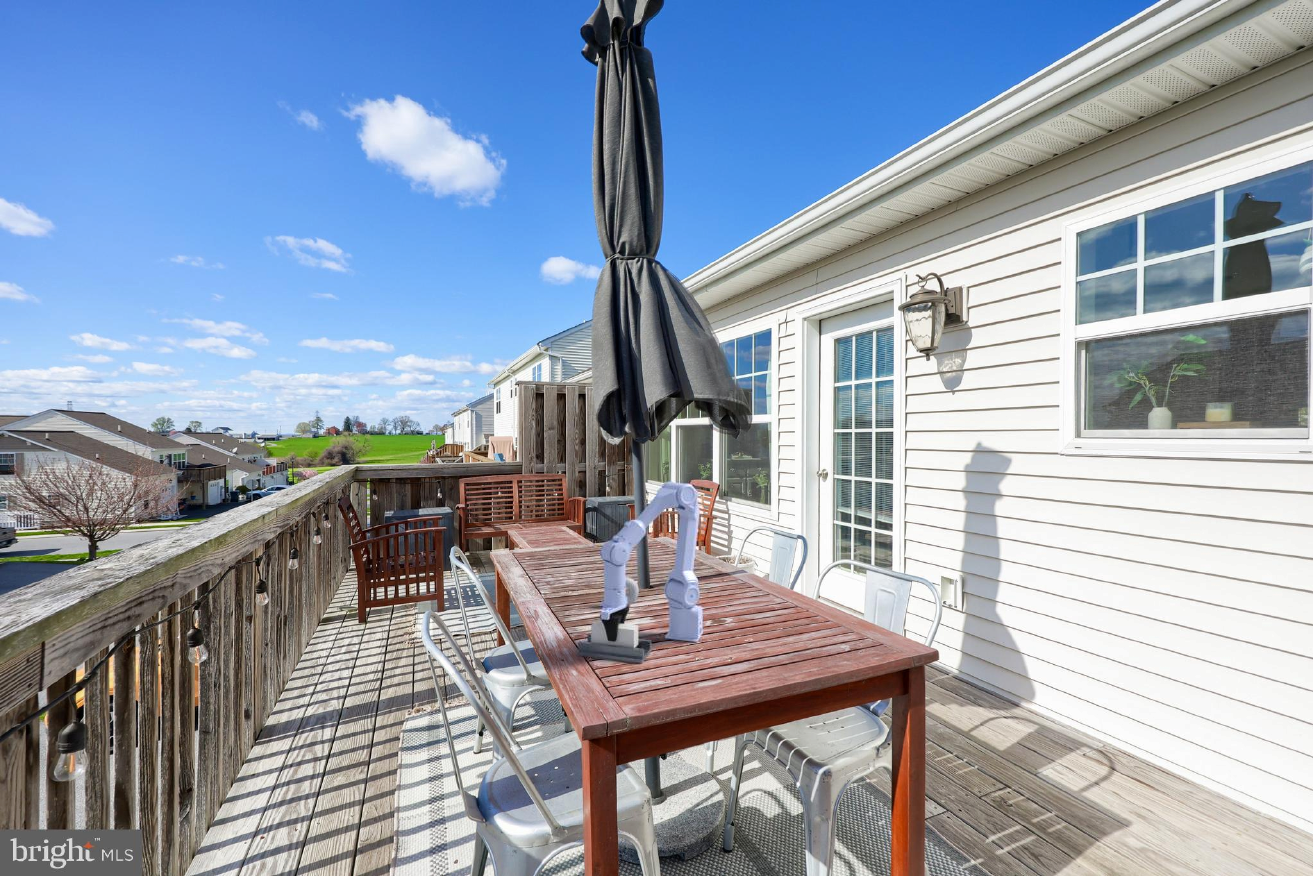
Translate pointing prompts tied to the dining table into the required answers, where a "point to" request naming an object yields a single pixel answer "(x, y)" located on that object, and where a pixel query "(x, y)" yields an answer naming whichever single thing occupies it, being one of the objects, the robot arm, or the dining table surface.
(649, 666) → the dining table surface
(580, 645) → the grey u-channel tray
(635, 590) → the donut
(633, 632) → the grey metal bar
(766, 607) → the dining table surface
